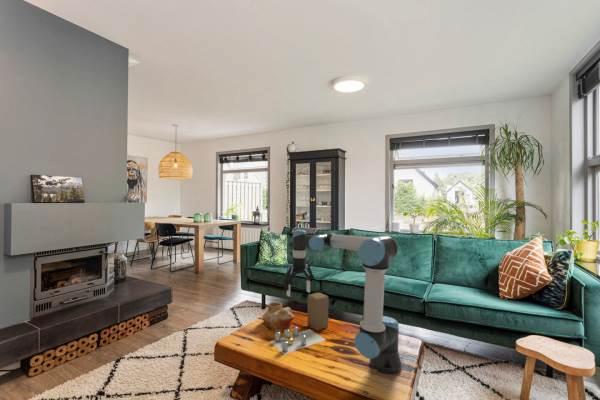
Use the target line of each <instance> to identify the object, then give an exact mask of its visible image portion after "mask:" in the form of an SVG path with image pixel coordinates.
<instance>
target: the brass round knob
mask: <svg viewBox="0 0 600 400" xmlns="http://www.w3.org/2000/svg"><path fill="white" fill-rule="evenodd" d="M285 340H287V341H288V346H291V345H293V344H294V338H293V337H292V336H286V337H285Z"/></svg>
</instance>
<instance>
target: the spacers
mask: <svg viewBox="0 0 600 400" xmlns="http://www.w3.org/2000/svg"><path fill="white" fill-rule="evenodd" d="M290 331H291V329H290V330H289V329H285V330H284V332H283V334H284V335H283V337H284V339H285V337H286V336H290V335H291V334H290V333H291V332H290ZM298 333H299V327H298V326H297V325H295V326H293V327H292V334H293V336H294V337H298ZM274 334H275V335H274V337H275V338H274V340H275V342H276V343H279V342H281V338H282V336H281V334H282V332H279V331H277V332H274ZM301 346H306V335H304V334H303V335H301ZM282 352H284V353H286V352H288V341H287V340H284V341H282ZM282 352H281V353H282Z"/></svg>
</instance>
